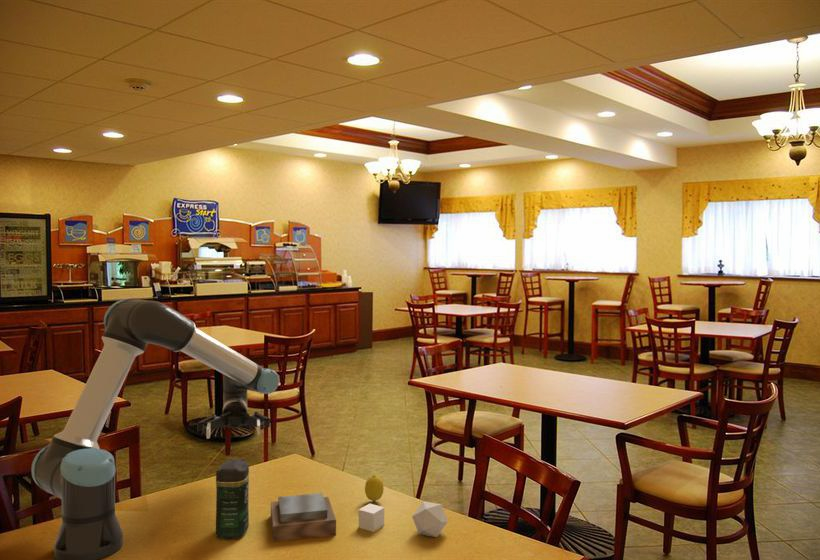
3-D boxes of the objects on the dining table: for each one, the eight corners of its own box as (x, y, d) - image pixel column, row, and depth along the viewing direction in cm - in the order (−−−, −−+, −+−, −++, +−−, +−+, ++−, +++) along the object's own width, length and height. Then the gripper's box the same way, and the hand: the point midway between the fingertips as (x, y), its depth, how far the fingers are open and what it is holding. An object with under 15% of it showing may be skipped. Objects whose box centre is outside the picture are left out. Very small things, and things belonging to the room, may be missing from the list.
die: (451, 533, 165) (438, 497, 169) (451, 529, 157) (436, 492, 161) (423, 545, 164) (410, 509, 168) (421, 542, 156) (407, 505, 161)
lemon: (362, 504, 181) (362, 477, 181) (368, 497, 187) (368, 471, 186) (379, 506, 180) (379, 479, 180) (386, 499, 185) (386, 473, 185)
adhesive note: (373, 532, 163) (373, 513, 163) (358, 527, 166) (358, 509, 166) (384, 525, 168) (384, 507, 167) (369, 521, 170) (369, 503, 170)
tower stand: (273, 541, 157) (273, 518, 157) (270, 516, 173) (270, 494, 172) (336, 534, 161) (336, 512, 161) (328, 510, 177) (328, 489, 177)
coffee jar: (243, 540, 158) (243, 468, 157) (212, 541, 157) (212, 468, 157) (252, 524, 167) (252, 456, 167) (222, 524, 167) (222, 456, 166)
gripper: (276, 422, 196) (279, 442, 175) (192, 427, 189) (186, 448, 169) (275, 398, 195) (279, 415, 175) (192, 403, 189) (185, 421, 169)
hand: (233, 432), depth 172 cm, fingers open, 13 cm apart
